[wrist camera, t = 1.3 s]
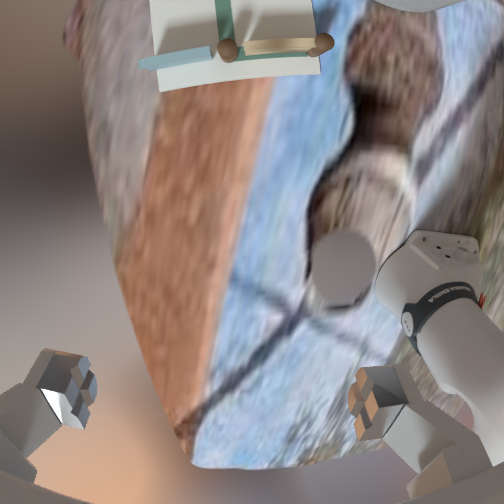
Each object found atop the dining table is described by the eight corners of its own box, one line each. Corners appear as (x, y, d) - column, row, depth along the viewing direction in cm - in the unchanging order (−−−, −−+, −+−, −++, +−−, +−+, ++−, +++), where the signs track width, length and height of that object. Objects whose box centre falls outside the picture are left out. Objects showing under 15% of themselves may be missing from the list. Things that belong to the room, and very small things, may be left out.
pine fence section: (319, 42, 35) (333, 33, 29) (321, 57, 36) (335, 50, 30) (219, 49, 35) (215, 39, 29) (221, 64, 36) (218, 57, 30)
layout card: (306, -23, 30) (307, -24, 30) (319, 74, 37) (320, 74, 36) (149, -6, 30) (148, -7, 30) (160, 92, 37) (159, 92, 37)
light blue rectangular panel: (213, 52, 34) (209, 45, 30) (214, 60, 35) (210, 54, 30) (150, 64, 35) (138, 60, 30) (151, 72, 35) (139, 68, 30)
